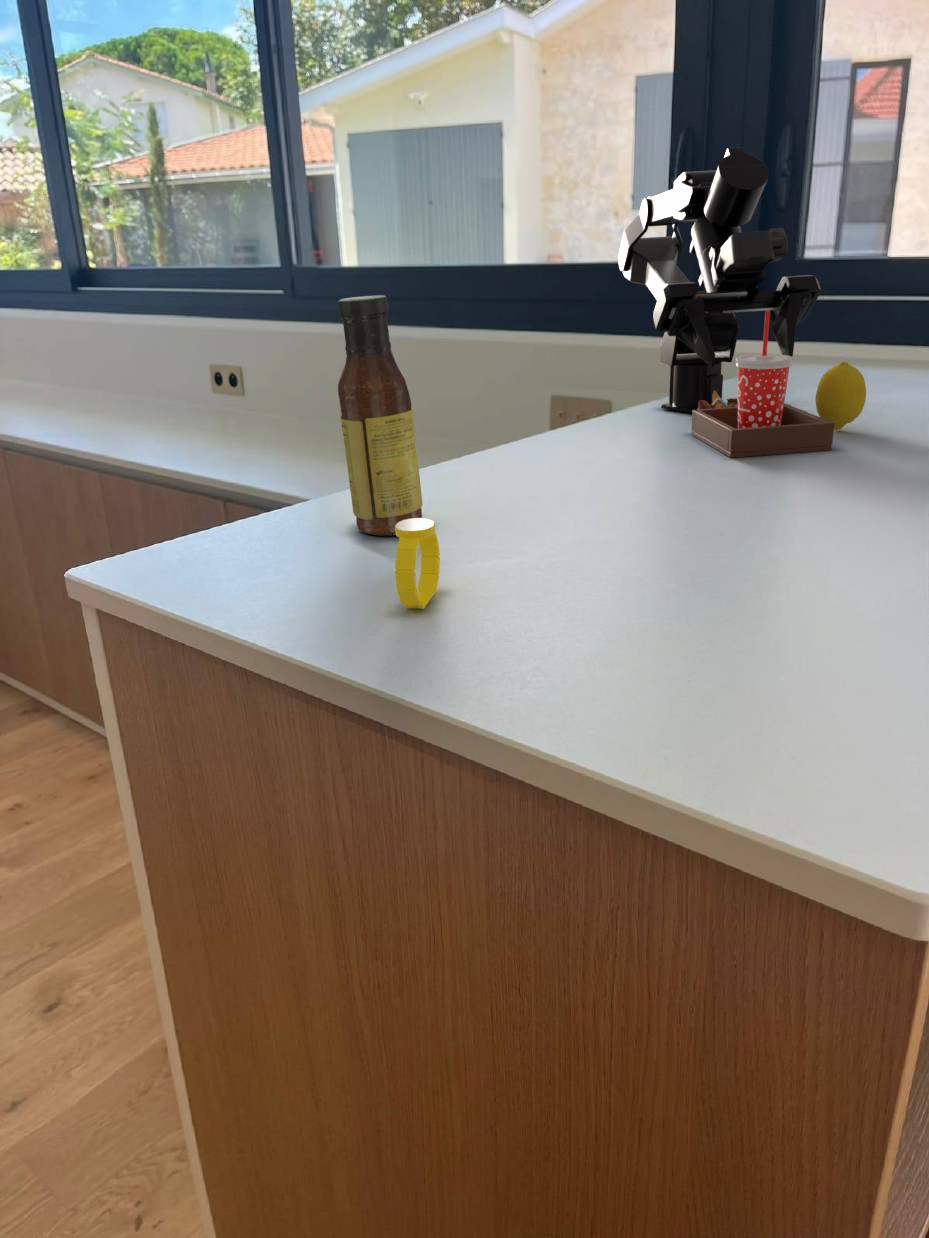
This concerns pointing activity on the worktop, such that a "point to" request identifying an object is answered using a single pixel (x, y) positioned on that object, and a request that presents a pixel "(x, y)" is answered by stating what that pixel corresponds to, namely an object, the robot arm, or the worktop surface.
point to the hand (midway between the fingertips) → (751, 361)
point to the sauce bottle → (376, 421)
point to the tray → (762, 433)
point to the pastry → (717, 402)
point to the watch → (410, 538)
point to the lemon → (841, 395)
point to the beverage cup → (762, 386)
